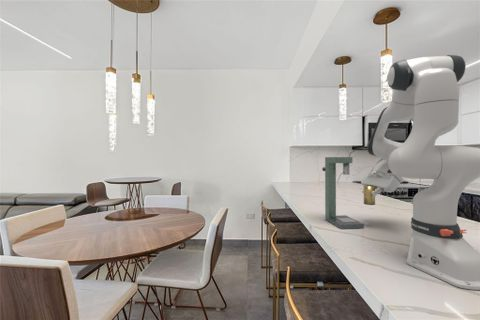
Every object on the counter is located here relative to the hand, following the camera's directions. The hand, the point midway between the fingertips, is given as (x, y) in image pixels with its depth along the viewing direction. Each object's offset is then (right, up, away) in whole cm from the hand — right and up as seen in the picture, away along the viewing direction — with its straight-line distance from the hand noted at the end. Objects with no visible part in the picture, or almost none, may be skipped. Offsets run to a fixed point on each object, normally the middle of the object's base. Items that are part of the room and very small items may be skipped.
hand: (368, 194), depth 112 cm
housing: (+1, -5, 0) cm, 5 cm away
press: (-10, -16, +9) cm, 21 cm away
